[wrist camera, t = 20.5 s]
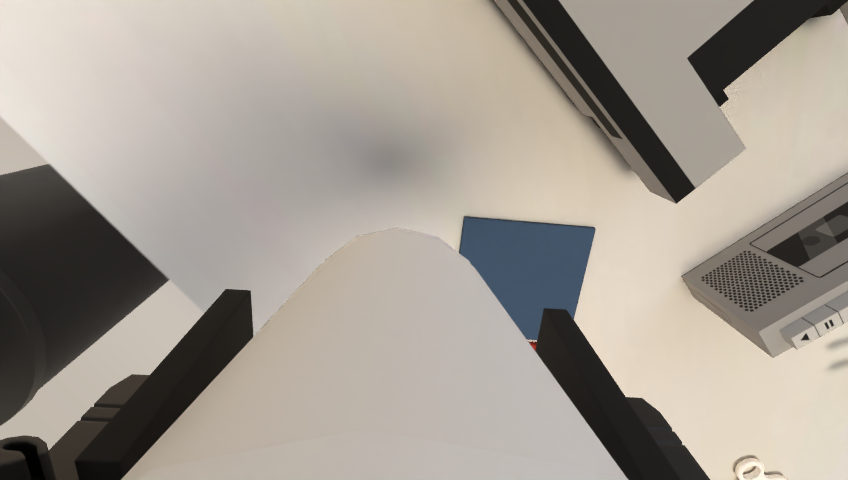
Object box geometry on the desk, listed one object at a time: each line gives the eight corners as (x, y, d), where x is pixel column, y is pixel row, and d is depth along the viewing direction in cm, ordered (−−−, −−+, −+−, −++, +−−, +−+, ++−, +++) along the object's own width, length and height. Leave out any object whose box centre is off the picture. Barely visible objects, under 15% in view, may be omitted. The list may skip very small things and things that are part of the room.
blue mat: (448, 331, 40) (449, 334, 39) (464, 216, 36) (464, 217, 35) (566, 339, 40) (568, 342, 40) (593, 227, 37) (595, 228, 36)
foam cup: (510, 157, 14) (1194, 698, 2) (542, 388, 17) (866, 1154, 5) (225, 218, 14) (-813, 992, 2) (308, 433, 18) (74, 1236, 5)
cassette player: (855, 168, 36) (1015, 200, 26) (865, 193, 36) (1024, 234, 27) (681, 276, 38) (769, 340, 29) (694, 297, 39) (784, 366, 30)
